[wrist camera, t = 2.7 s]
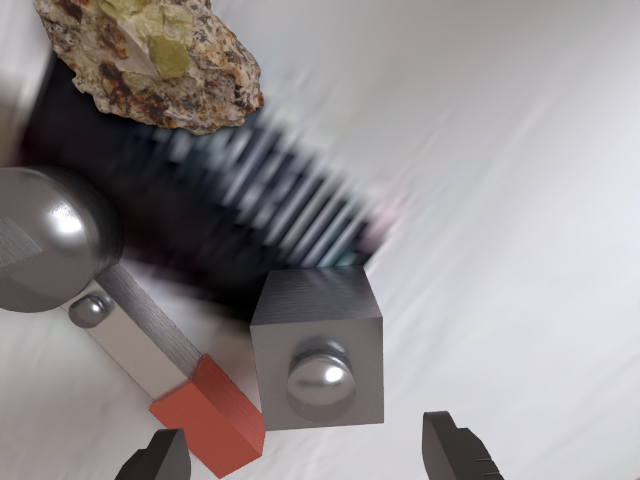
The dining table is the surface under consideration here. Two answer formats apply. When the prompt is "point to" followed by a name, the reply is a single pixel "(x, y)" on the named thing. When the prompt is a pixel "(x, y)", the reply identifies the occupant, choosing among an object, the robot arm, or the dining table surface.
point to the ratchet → (115, 308)
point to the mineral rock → (155, 61)
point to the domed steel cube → (318, 349)
